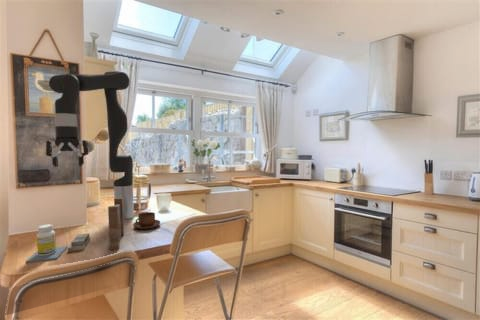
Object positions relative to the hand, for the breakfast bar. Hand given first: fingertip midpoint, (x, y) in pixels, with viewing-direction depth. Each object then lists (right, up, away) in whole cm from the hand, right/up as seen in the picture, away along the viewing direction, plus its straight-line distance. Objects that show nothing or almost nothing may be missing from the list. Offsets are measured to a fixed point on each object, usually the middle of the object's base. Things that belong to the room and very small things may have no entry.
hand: (68, 166), depth 110 cm
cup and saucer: (+25, -29, +19) cm, 43 cm away
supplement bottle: (+1, -31, -13) cm, 33 cm away
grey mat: (+1, -31, -13) cm, 34 cm away
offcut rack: (+13, -30, -3) cm, 33 cm away
